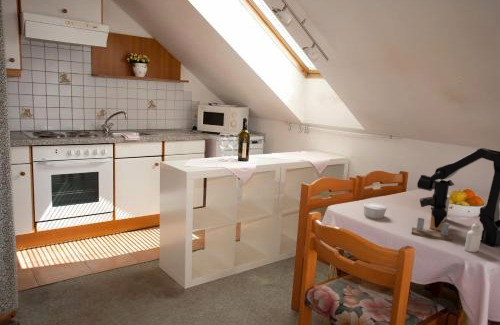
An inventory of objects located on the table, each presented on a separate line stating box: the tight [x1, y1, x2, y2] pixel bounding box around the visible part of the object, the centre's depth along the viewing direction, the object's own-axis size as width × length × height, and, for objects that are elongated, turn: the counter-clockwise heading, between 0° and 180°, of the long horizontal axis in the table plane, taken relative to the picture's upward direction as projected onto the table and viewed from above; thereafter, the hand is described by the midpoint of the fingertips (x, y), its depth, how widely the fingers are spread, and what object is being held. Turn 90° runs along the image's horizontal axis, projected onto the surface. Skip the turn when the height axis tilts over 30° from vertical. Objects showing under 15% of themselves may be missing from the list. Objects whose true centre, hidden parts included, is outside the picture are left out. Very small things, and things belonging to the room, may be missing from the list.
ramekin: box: [363, 202, 387, 220], centre depth 203 cm, size 11×11×5 cm
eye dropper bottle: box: [464, 221, 482, 253], centre depth 163 cm, size 4×6×12 cm
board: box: [411, 227, 453, 242], centre depth 179 cm, size 16×7×1 cm, turn 67°
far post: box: [415, 217, 425, 232], centre depth 180 cm, size 3×3×6 cm
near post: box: [440, 221, 450, 237], centre depth 177 cm, size 3×3×6 cm
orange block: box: [429, 213, 444, 231], centre depth 190 cm, size 5×5×7 cm
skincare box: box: [443, 194, 451, 222], centre depth 203 cm, size 6×4×12 cm
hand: (435, 225), depth 190 cm, fingers closed on orange block, 5 cm apart
